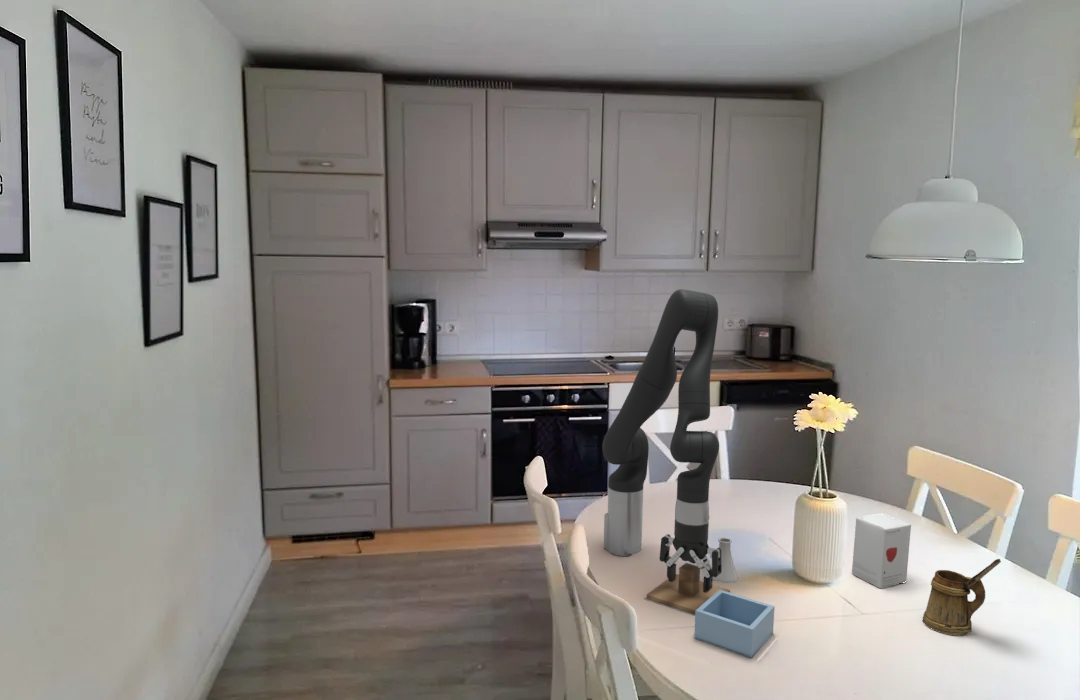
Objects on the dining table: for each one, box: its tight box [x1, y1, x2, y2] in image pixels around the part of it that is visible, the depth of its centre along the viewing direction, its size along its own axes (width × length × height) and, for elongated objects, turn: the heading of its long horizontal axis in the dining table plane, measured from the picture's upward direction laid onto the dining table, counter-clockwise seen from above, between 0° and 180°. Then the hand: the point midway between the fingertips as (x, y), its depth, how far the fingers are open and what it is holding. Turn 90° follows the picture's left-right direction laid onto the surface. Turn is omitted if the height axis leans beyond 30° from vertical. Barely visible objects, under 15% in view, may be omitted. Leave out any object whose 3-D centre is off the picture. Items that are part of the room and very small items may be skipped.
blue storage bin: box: [693, 590, 776, 659], centre depth 148 cm, size 12×12×6 cm
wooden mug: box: [922, 558, 1001, 636], centre depth 152 cm, size 9×14×18 cm, turn 38°
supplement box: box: [851, 512, 912, 589], centre depth 176 cm, size 9×9×15 cm
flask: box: [713, 536, 739, 584], centre depth 176 cm, size 7×7×10 cm
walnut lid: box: [646, 562, 731, 615], centre depth 165 cm, size 14×14×7 cm
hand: (689, 586), depth 165 cm, fingers open, 8 cm apart
